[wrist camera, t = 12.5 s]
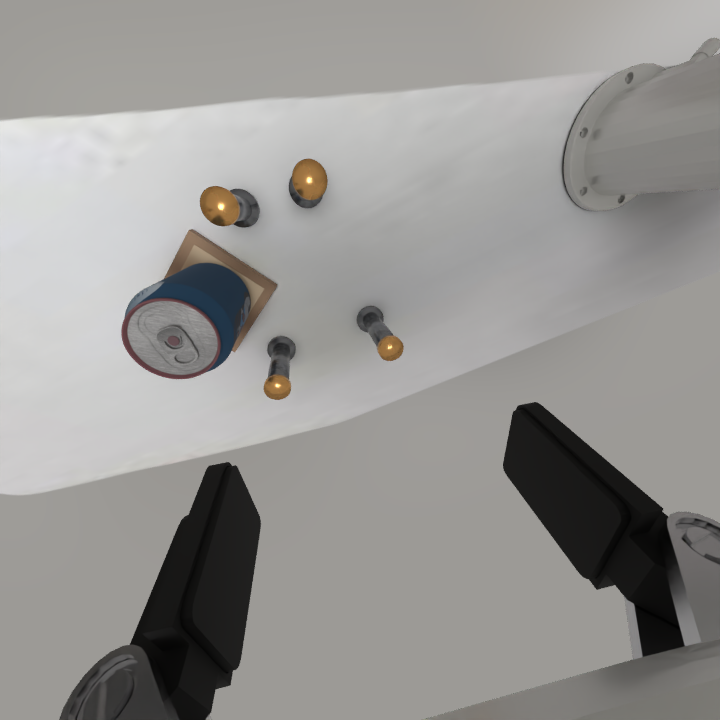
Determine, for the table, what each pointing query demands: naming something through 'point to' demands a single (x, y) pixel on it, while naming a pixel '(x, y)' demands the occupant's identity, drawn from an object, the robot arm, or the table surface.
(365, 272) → the table surface
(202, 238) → the walnut coaster
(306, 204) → the post
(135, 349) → the soda can
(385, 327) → the post
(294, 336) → the table surface
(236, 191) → the post
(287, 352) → the post
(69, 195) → the table surface
